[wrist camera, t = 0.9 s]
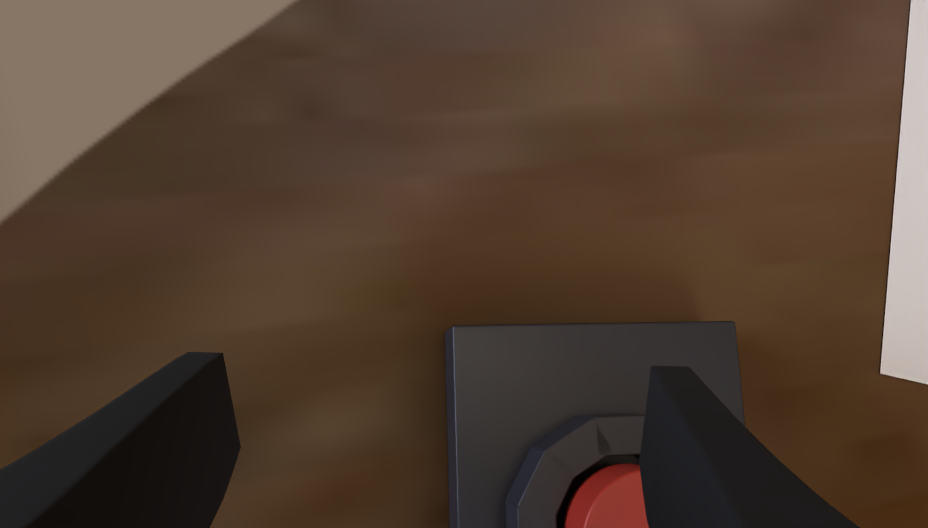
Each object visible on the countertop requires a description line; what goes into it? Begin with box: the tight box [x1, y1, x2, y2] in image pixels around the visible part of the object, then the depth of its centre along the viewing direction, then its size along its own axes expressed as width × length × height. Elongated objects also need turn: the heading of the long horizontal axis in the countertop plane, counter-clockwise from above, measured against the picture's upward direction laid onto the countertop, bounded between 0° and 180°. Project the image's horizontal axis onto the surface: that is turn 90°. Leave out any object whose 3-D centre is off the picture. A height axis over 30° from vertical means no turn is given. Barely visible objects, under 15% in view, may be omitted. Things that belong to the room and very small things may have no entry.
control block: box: [445, 321, 745, 528], centre depth 24 cm, size 13×10×4 cm
